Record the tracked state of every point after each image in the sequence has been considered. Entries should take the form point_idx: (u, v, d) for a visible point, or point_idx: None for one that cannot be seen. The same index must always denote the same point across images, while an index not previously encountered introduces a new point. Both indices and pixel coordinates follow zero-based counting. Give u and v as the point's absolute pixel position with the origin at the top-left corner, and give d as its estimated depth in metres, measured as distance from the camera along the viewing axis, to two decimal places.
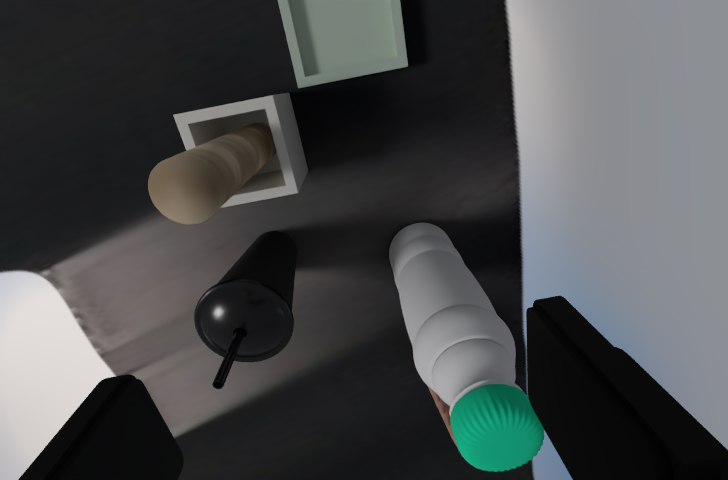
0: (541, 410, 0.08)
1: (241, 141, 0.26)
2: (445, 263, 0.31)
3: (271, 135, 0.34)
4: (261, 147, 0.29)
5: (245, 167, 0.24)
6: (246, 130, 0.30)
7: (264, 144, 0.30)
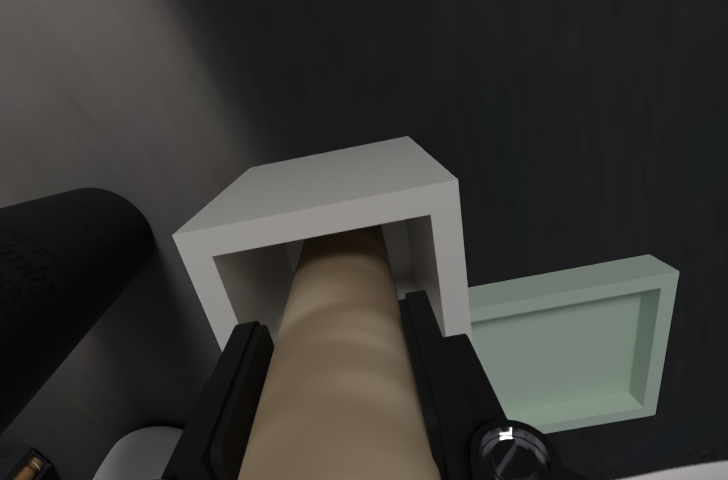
0: None
1: None
2: None
3: None
4: None
5: None
6: None
7: None
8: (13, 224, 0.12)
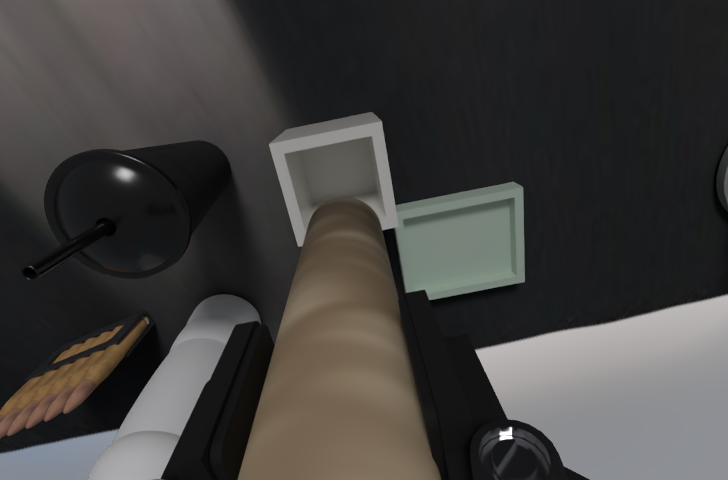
0: None
1: None
2: None
3: None
4: None
5: None
6: None
7: None
8: (186, 148, 0.27)
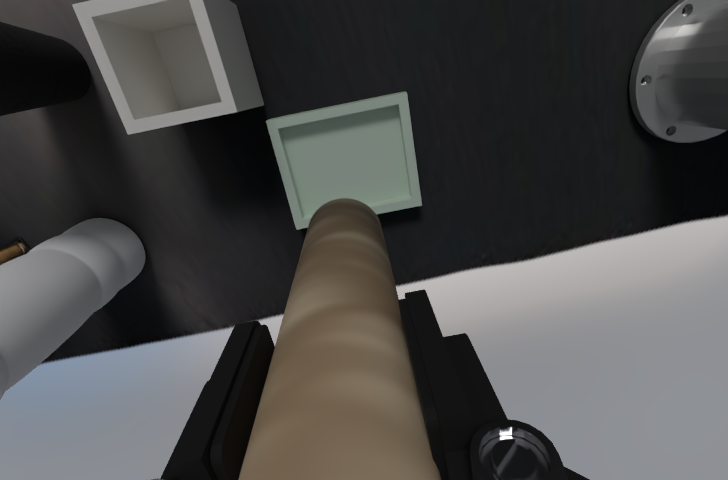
0: None
1: None
2: (77, 307, 0.28)
3: None
4: None
5: None
6: None
7: None
8: (3, 23, 0.24)
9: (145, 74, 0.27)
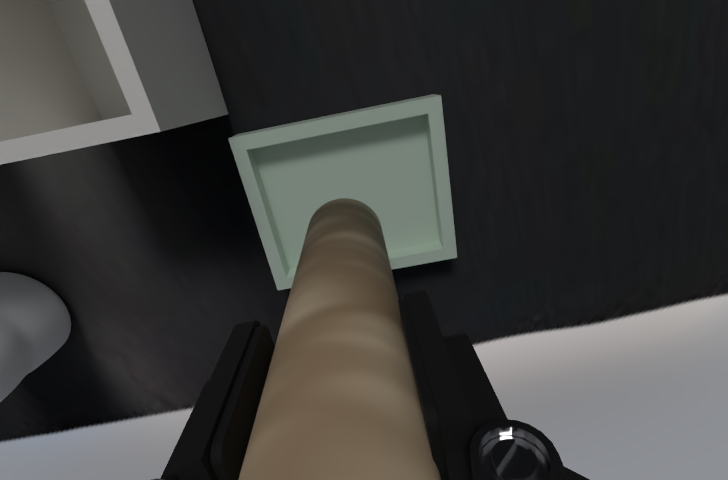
0: None
1: None
2: None
3: None
4: None
5: None
6: None
7: None
8: None
9: (23, 67, 0.17)
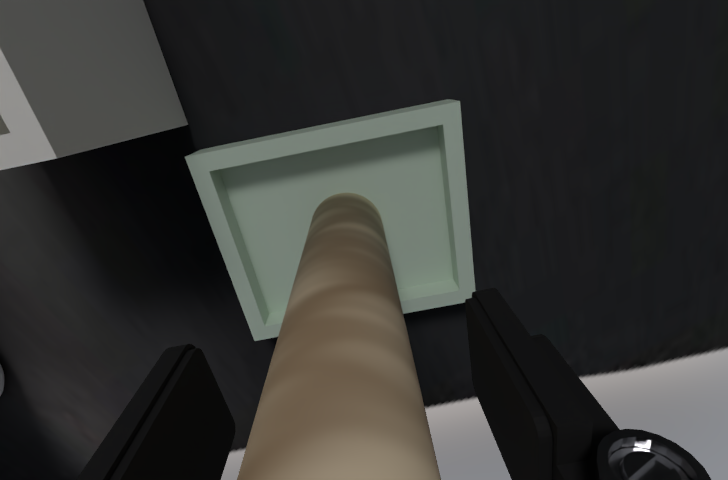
0: (480, 393, 0.09)
1: None
2: None
3: None
4: None
5: None
6: None
7: None
8: None
9: None
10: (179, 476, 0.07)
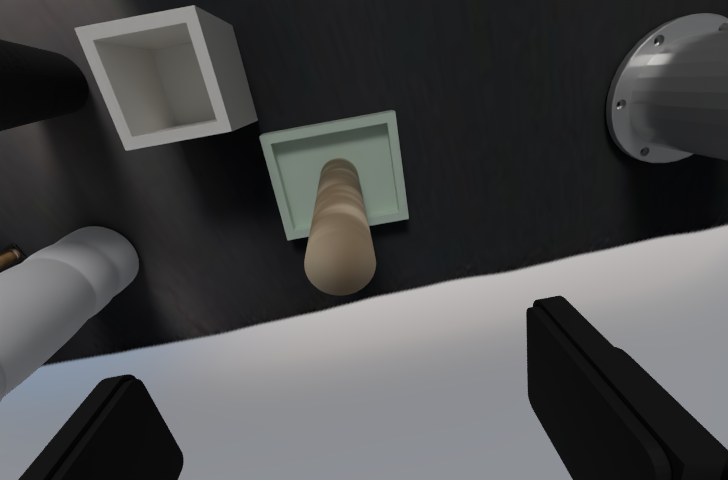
0: (541, 410, 0.08)
1: None
2: (73, 315, 0.28)
3: None
4: None
5: None
6: None
7: None
8: (5, 41, 0.25)
9: (143, 91, 0.28)
10: None
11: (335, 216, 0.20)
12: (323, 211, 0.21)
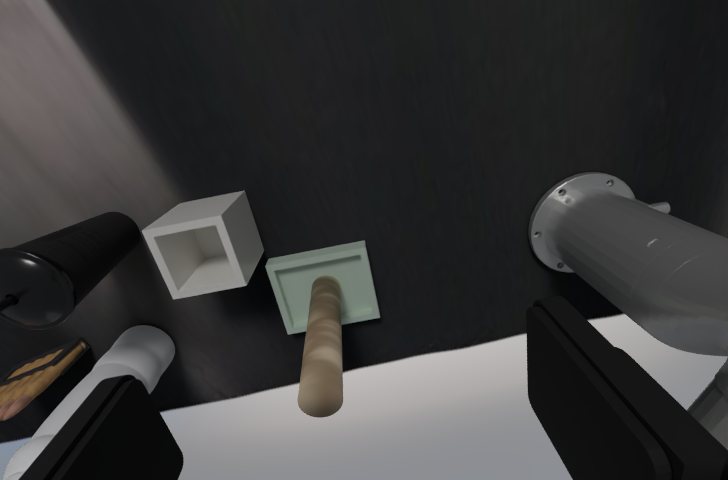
0: (541, 410, 0.08)
1: None
2: None
3: None
4: None
5: None
6: None
7: None
8: (90, 227, 0.37)
9: (182, 249, 0.39)
10: None
11: (317, 363, 0.31)
12: (310, 354, 0.32)
